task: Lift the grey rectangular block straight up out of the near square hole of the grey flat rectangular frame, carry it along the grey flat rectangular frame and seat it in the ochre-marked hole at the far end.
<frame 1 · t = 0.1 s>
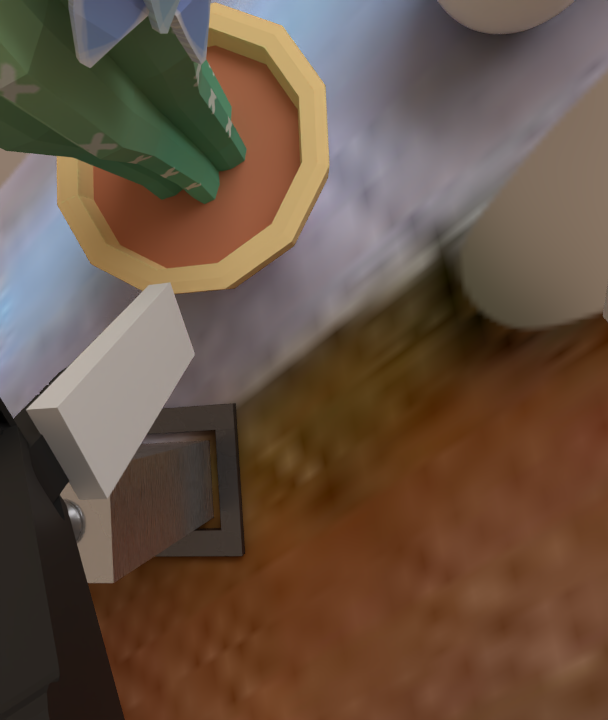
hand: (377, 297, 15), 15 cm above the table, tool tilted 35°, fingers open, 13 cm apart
potted cactus: (238, 206, 33), on the table
grey flat rectangular frame: (77, 483, 34), on the table
grey rectangular block: (176, 479, 32), resting in grey flat rectangular frame
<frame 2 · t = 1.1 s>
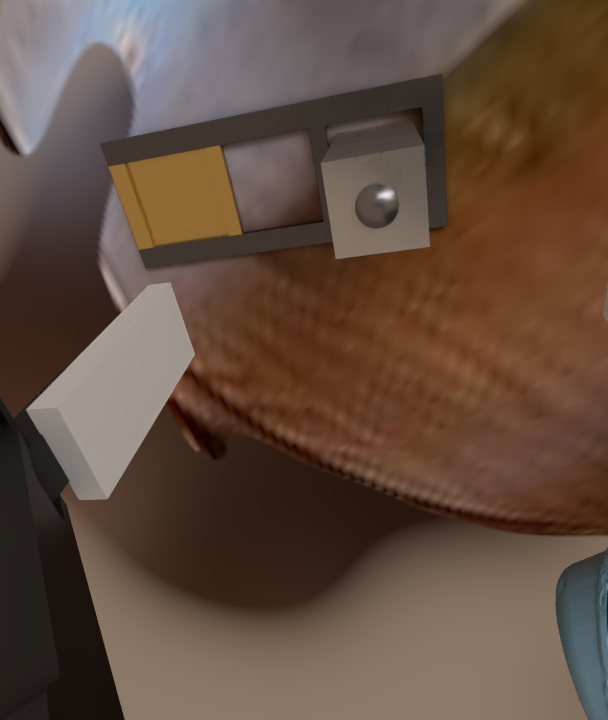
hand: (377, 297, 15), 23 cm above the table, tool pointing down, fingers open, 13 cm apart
grey flat rectangular frame: (274, 183, 35), on the table
grey rectangular block: (377, 165, 34), resting in grey flat rectangular frame
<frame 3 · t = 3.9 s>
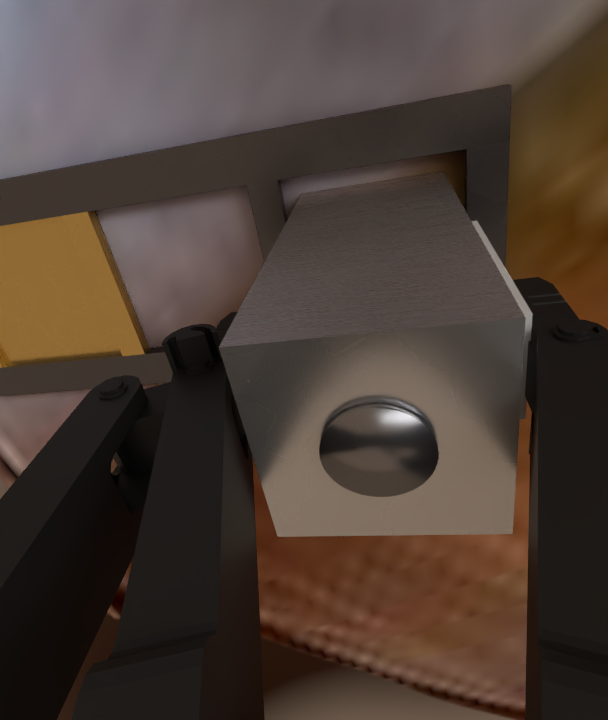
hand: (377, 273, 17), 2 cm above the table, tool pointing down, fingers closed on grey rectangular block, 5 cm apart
grey flat rectangular frame: (193, 274, 20), on the table
grey rectangular block: (377, 250, 18), resting in grey flat rectangular frame, touching gripper
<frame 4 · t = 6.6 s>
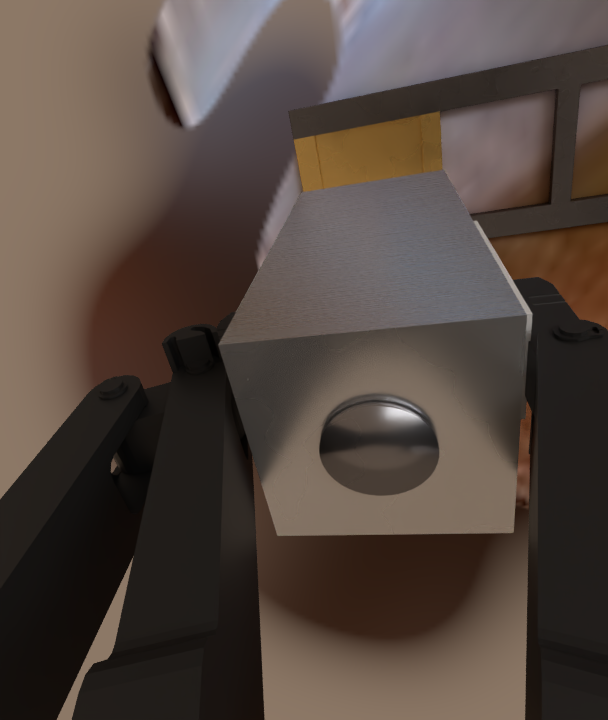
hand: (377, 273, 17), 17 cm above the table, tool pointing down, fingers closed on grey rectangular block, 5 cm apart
grey flat rectangular frame: (495, 158, 30), on the table
grey rectangular block: (377, 249, 18), point 15 cm above the table, touching gripper
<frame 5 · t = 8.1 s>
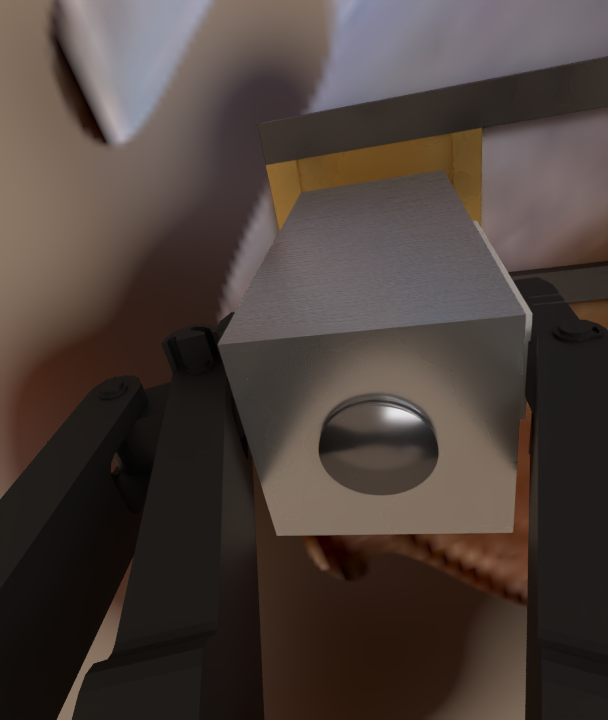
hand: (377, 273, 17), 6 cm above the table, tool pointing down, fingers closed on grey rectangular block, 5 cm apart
grey flat rectangular frame: (559, 195, 20), on the table
grey rectangular block: (377, 249, 18), point 4 cm above the table, touching gripper
when the fingers open (3 cm above the table, at t = 9.3 s): grey rectangular block stays where it is, resting on grey flat rectangular frame.
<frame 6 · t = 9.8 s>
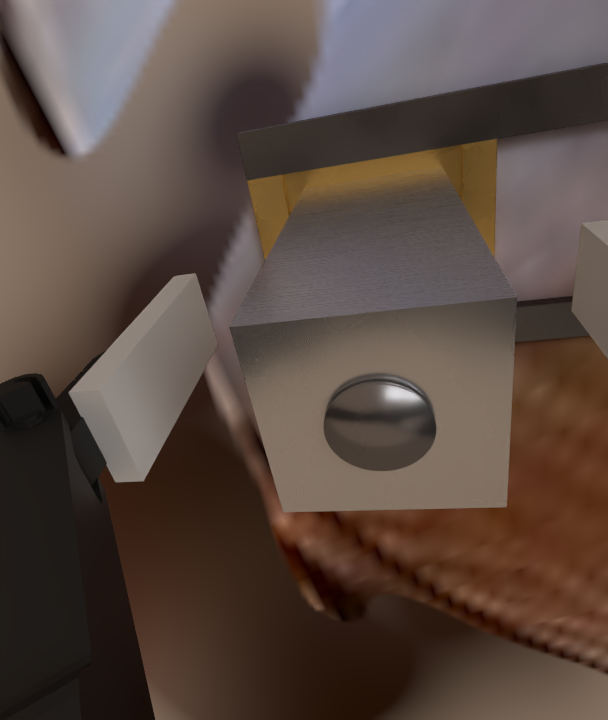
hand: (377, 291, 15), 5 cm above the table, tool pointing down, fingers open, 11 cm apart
grey flat rectangular frame: (585, 215, 18), on the table
grey rectangular block: (378, 243, 19), resting on grey flat rectangular frame
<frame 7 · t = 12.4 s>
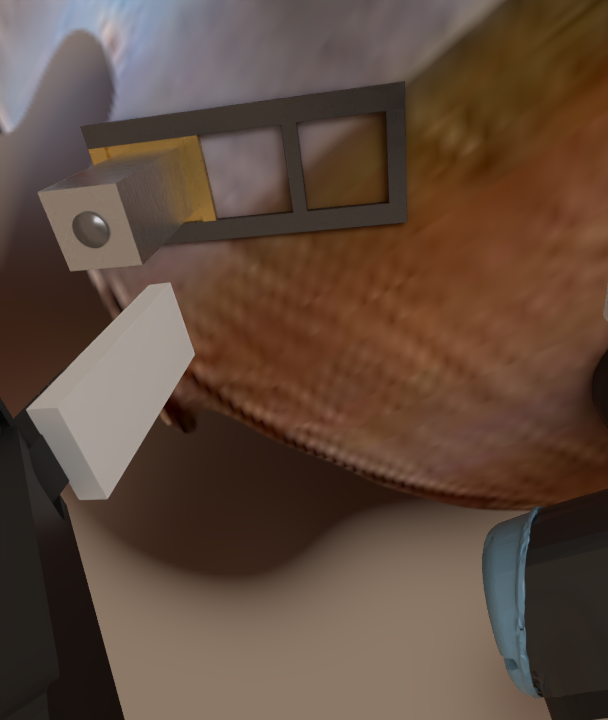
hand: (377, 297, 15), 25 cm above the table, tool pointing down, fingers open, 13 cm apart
grey flat rectangular frame: (247, 173, 38), on the table
grey rectangular block: (156, 184, 39), resting on grey flat rectangular frame
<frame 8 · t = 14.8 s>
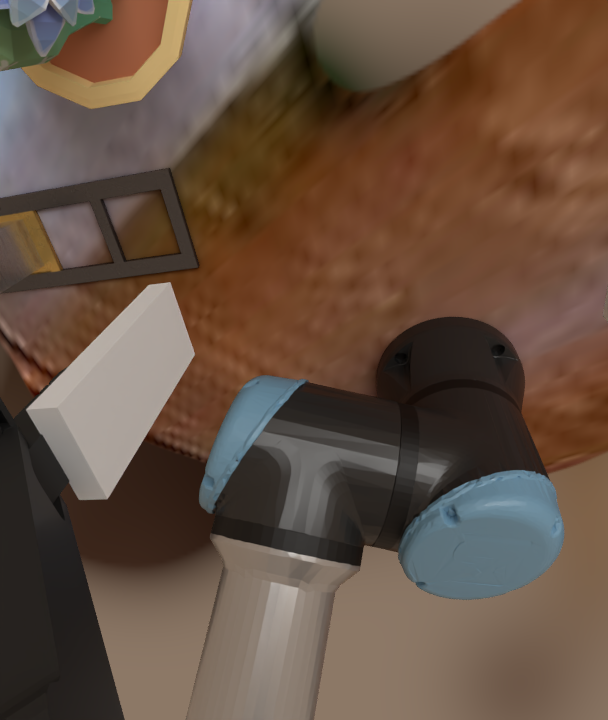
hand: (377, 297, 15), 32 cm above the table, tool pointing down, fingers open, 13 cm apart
grey flat rectangular frame: (76, 236, 50), on the table
grey rectangular block: (13, 245, 51), resting on grey flat rectangular frame
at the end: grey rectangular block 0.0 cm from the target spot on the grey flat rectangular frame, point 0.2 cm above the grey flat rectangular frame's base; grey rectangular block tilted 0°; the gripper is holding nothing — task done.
